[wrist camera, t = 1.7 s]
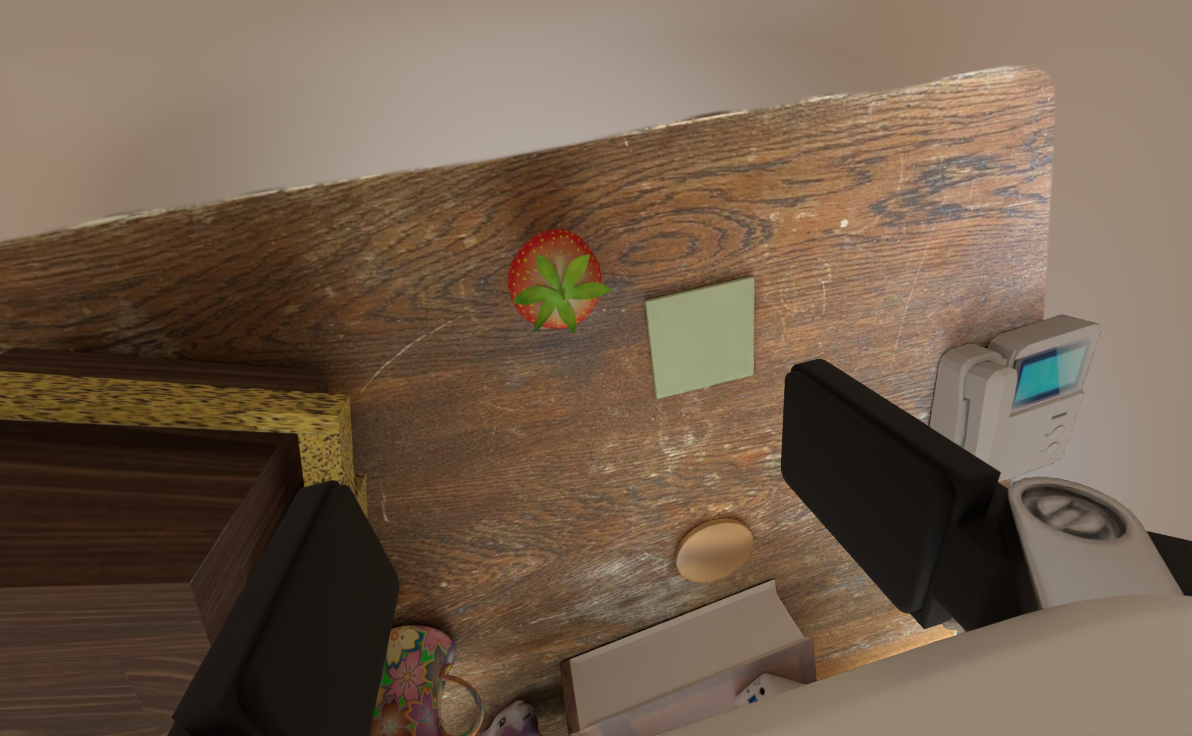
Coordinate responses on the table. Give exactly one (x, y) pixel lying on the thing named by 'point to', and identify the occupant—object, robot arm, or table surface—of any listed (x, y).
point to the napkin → (701, 336)
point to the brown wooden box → (140, 522)
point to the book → (685, 667)
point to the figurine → (514, 721)
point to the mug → (417, 684)
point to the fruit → (555, 280)
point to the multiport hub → (765, 688)
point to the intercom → (1016, 393)
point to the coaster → (713, 550)
